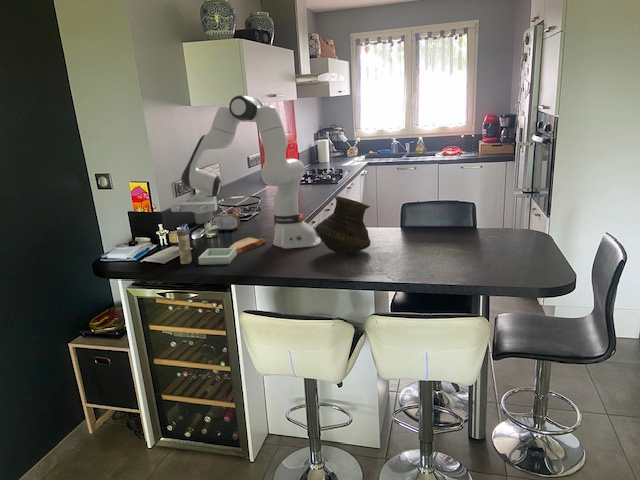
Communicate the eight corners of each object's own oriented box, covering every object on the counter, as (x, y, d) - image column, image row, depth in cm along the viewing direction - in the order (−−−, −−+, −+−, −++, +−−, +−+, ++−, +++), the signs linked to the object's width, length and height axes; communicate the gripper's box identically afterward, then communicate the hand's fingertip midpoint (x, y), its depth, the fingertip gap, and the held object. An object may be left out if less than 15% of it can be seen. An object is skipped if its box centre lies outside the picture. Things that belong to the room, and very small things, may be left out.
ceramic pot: (304, 255, 209) (301, 198, 202) (342, 243, 224) (341, 189, 217) (344, 266, 192) (342, 204, 185) (382, 252, 207) (382, 195, 200)
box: (237, 254, 214) (236, 248, 213) (229, 263, 202) (228, 257, 201) (208, 255, 215) (207, 248, 214) (199, 264, 203) (198, 257, 202)
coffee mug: (200, 224, 274) (198, 207, 271) (192, 222, 281) (190, 205, 279) (221, 220, 282) (219, 203, 279) (213, 218, 289) (211, 201, 287)
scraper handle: (191, 261, 208) (188, 229, 204) (189, 263, 204) (185, 231, 201) (183, 261, 208) (179, 229, 204) (181, 263, 205) (176, 231, 201)
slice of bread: (229, 255, 215) (228, 247, 214) (226, 245, 232) (226, 237, 231) (269, 251, 219) (268, 243, 218) (264, 241, 236) (263, 233, 235)
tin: (241, 228, 261) (239, 213, 259) (239, 229, 258) (238, 214, 256) (214, 228, 263) (212, 213, 261) (212, 230, 260) (210, 215, 258)
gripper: (176, 197, 224) (164, 203, 211) (219, 196, 222) (210, 202, 209) (177, 210, 226) (166, 217, 212) (220, 209, 224) (211, 216, 210)
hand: (188, 210), depth 210 cm, fingers open, 8 cm apart
